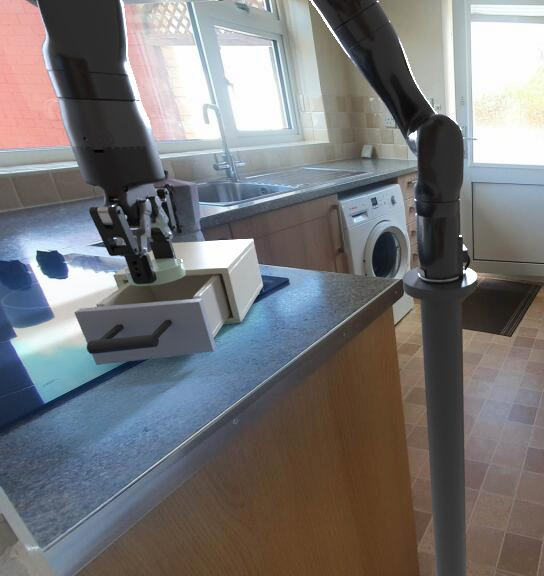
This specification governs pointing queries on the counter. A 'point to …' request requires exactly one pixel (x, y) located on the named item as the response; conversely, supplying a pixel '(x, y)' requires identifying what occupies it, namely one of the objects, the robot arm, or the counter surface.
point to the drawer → (156, 320)
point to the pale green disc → (163, 271)
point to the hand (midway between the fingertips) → (157, 273)
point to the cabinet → (220, 270)
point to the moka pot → (183, 209)
